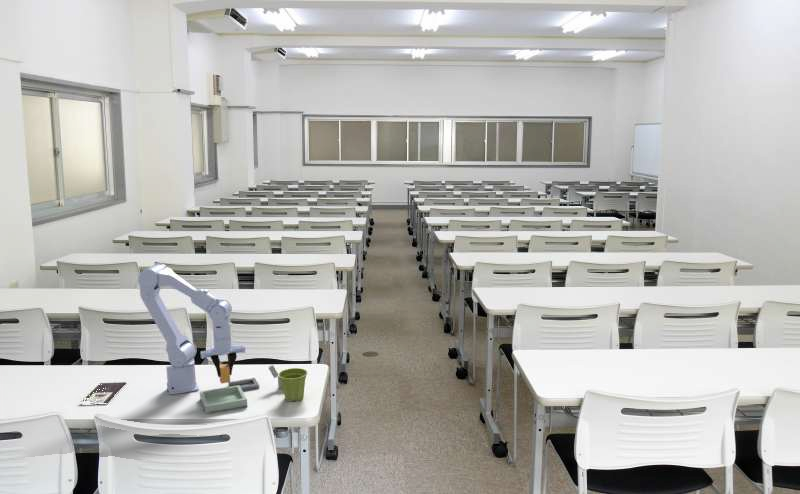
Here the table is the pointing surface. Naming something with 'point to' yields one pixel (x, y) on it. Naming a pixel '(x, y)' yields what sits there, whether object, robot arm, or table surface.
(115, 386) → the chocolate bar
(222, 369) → the pin
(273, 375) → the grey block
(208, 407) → the tray
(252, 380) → the frame
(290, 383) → the plant pot
